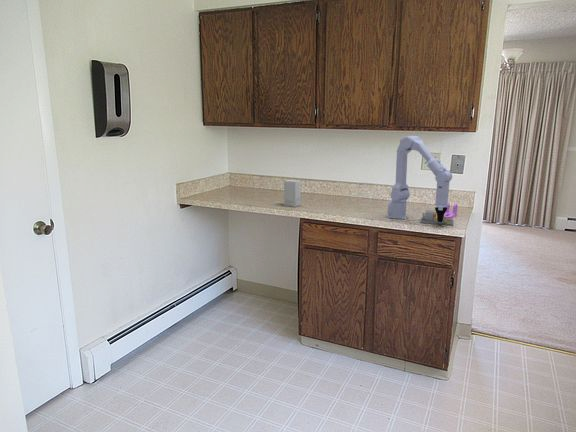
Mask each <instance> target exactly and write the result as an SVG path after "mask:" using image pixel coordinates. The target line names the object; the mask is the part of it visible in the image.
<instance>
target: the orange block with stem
mask: <svg viewBox="0 0 576 432" xmlns="http://www.w3.org/2000/svg"><path fill="white" fill-rule="evenodd" d="M425 213H426V212H422V215H421V218H422V217H423V218H425ZM434 217H435V218H437V213H436V211H434V215H433V219H434Z"/></svg>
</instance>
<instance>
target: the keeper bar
mask: <svg viewBox="0 0 576 432" xmlns="http://www.w3.org/2000/svg"><path fill="white" fill-rule="evenodd" d="M453 219H454V218H452V219H447V218H443V221H442V222H451V223H452V221H453ZM434 221H437V217H436V218H435V217H434Z"/></svg>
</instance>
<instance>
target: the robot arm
mask: <svg viewBox="0 0 576 432" xmlns="http://www.w3.org/2000/svg"><path fill="white" fill-rule="evenodd" d="M412 150H413V151H417V152H418V153H419V154H420V155H421V157H423V159H424V160H425V161H426V162H427V167H428V168H429V170H430V171H431V172H432V173H433V175H434V176H435V177H434V179H435V182H436V192H435V193H436V194H435V203H434V206H435V207H434V212H436V218H437V221H438V222H442V221H443V217H444V214H445V212H446V211H447V208H446V206H450V207H451V204H448V203H449V193H450V182H451V181H452V179H453V175H452V174H453V173H452V171H451V170H448V169H447V168H446V167H444V165H443V164H442V162H441V160H440V159H438V158H434V157H433V155H432V153H431V151H429V149H428V147H427V146H426V145H425V143H424V140H423V139H421V137H420V136H419V135H405V136H403V137H402V138H401V139H400V140H399V145H398V146H397V149H396V160H395V161H396V163H395V164H396V165H395V166H396V168H395V183H394V185H393V186H392V187H391V189H392V190H391V192H390V195H389V196H390V199H391V200H389V201H388V202H387V203H388V205H387V216H386V218H387V219H396V220H397V219H399V220H406V219H407V217H408V215H406V213H407V201H408V199H409V198H410V195H411V194H410V191H409V185H408V184H407V173H408V172H407V170H408V154H409V153H410V152H412Z"/></svg>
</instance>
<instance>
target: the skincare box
mask: <svg viewBox="0 0 576 432" xmlns="http://www.w3.org/2000/svg"><path fill="white" fill-rule="evenodd" d="M283 193H284V195H283V197H284V199H283V200H284V202H283V203H284V207H290V206H291V207H290V208H297V206H298V207H300V206H302V202H301V201H302V200H301V199H302V198H301V196H302V195H301V193H302V192H301V180H297V179H287V180H283Z"/></svg>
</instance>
